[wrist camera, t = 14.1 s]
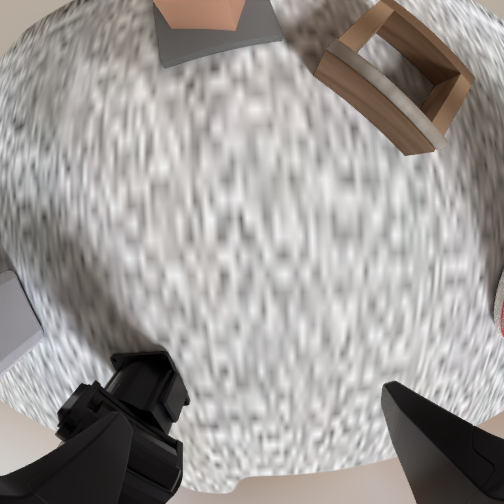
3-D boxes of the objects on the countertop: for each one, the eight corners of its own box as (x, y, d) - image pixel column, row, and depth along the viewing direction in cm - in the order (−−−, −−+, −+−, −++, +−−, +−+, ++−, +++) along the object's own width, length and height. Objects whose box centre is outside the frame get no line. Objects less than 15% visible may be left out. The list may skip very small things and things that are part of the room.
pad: (165, 68, 16) (161, 63, 15) (155, -3, 14) (152, -8, 13) (282, 40, 15) (282, 34, 14) (255, -27, 13) (254, -34, 12)
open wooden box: (405, 156, 17) (442, 150, 12) (313, 76, 16) (327, 45, 11) (448, 89, 15) (482, 75, 10) (370, 18, 14) (391, -12, 9)
